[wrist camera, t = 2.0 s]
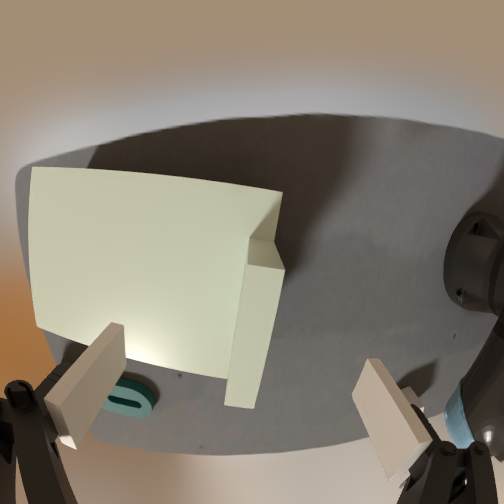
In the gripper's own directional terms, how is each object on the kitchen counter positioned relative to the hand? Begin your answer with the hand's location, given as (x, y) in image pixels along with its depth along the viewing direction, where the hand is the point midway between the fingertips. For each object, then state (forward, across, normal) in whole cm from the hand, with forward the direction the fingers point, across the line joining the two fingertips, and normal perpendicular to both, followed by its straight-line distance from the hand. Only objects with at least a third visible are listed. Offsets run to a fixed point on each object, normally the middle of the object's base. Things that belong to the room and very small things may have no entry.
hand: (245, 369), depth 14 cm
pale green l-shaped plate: (+13, +11, 0) cm, 17 cm away
